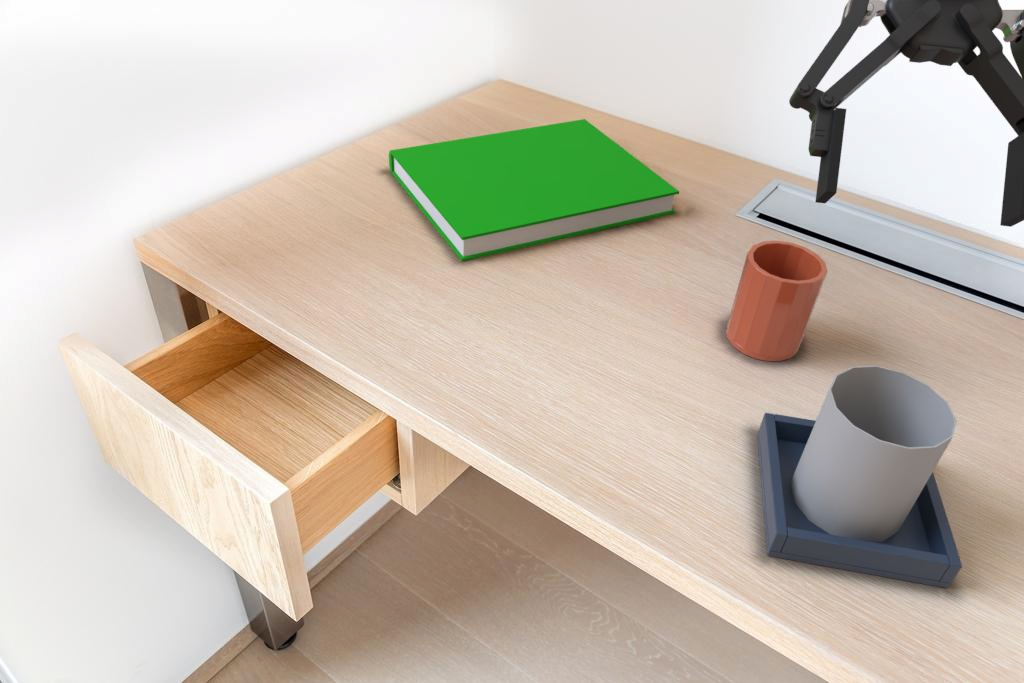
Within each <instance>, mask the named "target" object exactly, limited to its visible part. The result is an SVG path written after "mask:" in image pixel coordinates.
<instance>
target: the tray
mask: <svg viewBox="0 0 1024 683" xmlns="http://www.w3.org/2000/svg"><path fill="white" fill-rule="evenodd" d="M815 422H816V420H815V419H808V418H803V417H802V418H801V417H795V416H789V415H784V414H778V413H770V412H764V415H763V417H762V420H761V423H760V425H759V428H758V430H757V433H756V435H757V446H758V447H757V448H758V459H759V460H758V461H759V472H760V473H759V474H760V483H761V484H760V485H761V496H762V508H763V520H764V532H765V544H766V554H767V557H774V558H778V559H784V560H789V561H795V562H800V563H807V564H811V565H817V566H823V567H828V568H834V569H839V570H844V571H845V570H846V571H851V572H856V573H861V574H867V575H873V576H878V577H883V578H889V579H894V580H901V581H906V582H910V583H911V582H912V583H917V584H921V585H928V586H932V587H933V586H934V587H938V588H944V589H948V588H949V586H950V585H951V583H953V581H954V579H955V578H956V576H958V574H959V572H961V569H962V568H963V563H962V560H961V558H960V554H959V551H958V548H957V545H956V541H955V538H954V535H953V531H952V529H951V526H950V522H949V519H948V516H947V512H946V510H945V507H944V503H943V500H942V496H941V494H940V493H941V492H940V491H939V487H938V483H937V480H936V477H935V474H934V471H933V472H932V474H931V476H930V477H929V479H928V481H927V483H926V484H925V486H924V488H923V490H922V491H921V493H920V495H919V496H918V498H917V500H916V502H915V503H914V505H913V507H912V509H911V510H910V512H909V514H908V516H907V517H906V519H905V521H904V522H903V524H902V526H901V528H900V529H899V531H898V532H897V533H895V534H893V535H892V536H890V537H889V538H887V539H886V540H884V541H883V542H869V541H863V540H857V539H852V538H846V537H840V536H835V535H830V534H829V533H827V532H826V531H824V530H823V529H821V528H820V527H818V526H817V525H815V524H813V523H812V522H810V521H809V520H808V519H807V517H806V516H805V515H804V514H803V512H802V511H801V510H800V509H799V507H798V506H797V505H796V503H795V502H794V499H793V494H792V490H791V485H790V482H791V480H792V478H793V475H794V473H795V470H796V468H797V465H798V463H799V461H800V458H801V456H802V453H803V451H804V449H805V446H806V444H807V441H808V439H809V437H810V434H811V432H812V429H813V427H814V425H815Z"/></svg>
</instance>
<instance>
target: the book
mask: <svg viewBox="0 0 1024 683" xmlns="http://www.w3.org/2000/svg"><path fill="white" fill-rule="evenodd" d="M388 167H389V170H390V173H391V174H392V176H393V177H394V178H395V179H396V181H397V182H398V184H400V186H401V187H402V189H403V190H404V191H405V192H406V193H407V194H408V196H409V197H410V198H411V200H412V201H413V202H414V204H416V206H417V207H418V208H419V210H420V211H421V212H422V214H423V215H424V216H425V218H426V219H427V220H428V221H429V222H430V223H431V225H432V226H433V227H434V228H435V230H436V231H437V233H439V235H440V236H441V237H442V239H443V240H444V241H445V242H446V244H447V245H448V246H449V247H450V249H451V250H452V251H453V252H454V254H455V255H456V256H457V257H458V259H459V260H460V262H465V261H471V260H474V259H479V258H483V257H484V258H485V257H489V256H492V255H497V254H501V253H505V252H509V251H510V252H511V251H515V250H519V249H524V248H527V247H532V246H537V245H540V244H546V243H550V242H555V241H558V240H563V239H568V238H572V237H577V236H581V235H585V234H586V235H587V234H590V233H595V232H599V231H603V230H608V229H611V228H612V229H613V228H617V227H622V226H624V225H629V224H634V223H639V222H644V221H647V220H652V219H658V218H661V217H666V216H671V215H675V213H676V210H675V209H673V203H674V199H675V196H676V195H679V194H680V190H679V189H677V188H676V187H674V186H673V185H672V184H671V183H669V182H668V181H667V180H665V179H664V178H662V177H661V176H660V175H659V174H658V173H656V172H655V171H654V170H652V169H651V168H650V167H648V166H647V165H646V164H644V163H643V162H642V161H640V160H639V159H638V158H637V157H635V156H634V155H633V154H631V153H630V152H629V151H627V150H626V149H625V148H623V147H622V146H621V145H619V144H618V143H617V142H616V141H614V140H613V139H612V138H610V137H609V136H607V135H606V134H605V133H604V132H603V131H601V130H600V129H599V128H597V127H596V126H594V125H593V124H592V123H590V122H589V121H588V119H587V120H586V118H583V119H576V120H570V121H564V122H558V123H551V124H546V125H539V126H533V127H527V128H526V127H525V128H521V129H514V130H507V131H502V132H501V131H500V132H495V133H490V134H483V135H477V136H471V137H465V138H459V139H452V140H446V141H440V142H434V143H426V144H420V145H415V146H409V147H408V146H407V147H402V148H397V149H390V150H389V152H388Z"/></svg>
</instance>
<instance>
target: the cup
mask: <svg viewBox="0 0 1024 683" xmlns="http://www.w3.org/2000/svg"><path fill="white" fill-rule="evenodd" d="M815 421H816V422H815V425H814V427H813V429H812V432H811V434H810V437H809V439H808V441H807V444H806V446H805V449H804V451H803V453H802V456H801V458H800V461H799V463H798V465H797V468H796V470H795V473H794V475H793V478H792V480H791V482H790V485H791V490H792V494H793V499H794V502H795V503H796V505H797V506H798V507H799V509H800V510H801V511H802V512H803V514H804V515H805V516H806V517H807V519H808V520H809V521H810V522H812V523H813V524H815V525H817V526H818V527H820V528H821V529H823V530H824V531H826V532H827V533H829V534H830V535H835V536H840V537H846V538H852V539H857V540H863V541H869V542H883V541H884V540H886V539H887V538H889V537H890V536H892V535H893V534H895V533H897V532H898V531H899V529H900V528H901V526H902V524H903V522H904V521H905V519H906V517H907V516H908V514H909V512H910V510H911V509H912V507H913V505H914V503H915V502H916V500H917V498H918V496H919V495H920V493H921V491H922V490H923V488H924V486H925V484H926V483H927V481H928V479H929V477H930V476H931V474H932V472H933V473H934V471H935V469H936V467H937V465H938V464H939V462H940V460H941V458H942V456H943V455H944V454H945V451H946V450H947V449H948V446H949V444H950V442H951V441H952V439H953V438H954V433H955V430H956V425H957V419H956V416H955V415H954V412H953V410H952V408H951V406H950V404H949V402H948V401H947V400H946V399H945V398H944V397H942V395H940V394H939V393H938V392H937V391H936V390H935V389H934V388H932V386H931V385H929V384H928V383H927V382H924V381H921V380H920V379H918V378H916V377H914V376H912V375H910V374H908V373H906V372H904V371H901V370H896V369H891V368H887V367H884V366H880V365H860V366H859V365H858V366H851V367H849V368H847V369H844V370H843V371H841V372H839V373H837V374H835V376H834V378H833V380H832V382H831V384H830V386H829V389H828V391H827V393H826V395H825V399H824V400H823V402H822V405H821V407H820V410H819V413H818V415H817V417H816V420H815Z"/></svg>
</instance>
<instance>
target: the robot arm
mask: <svg viewBox="0 0 1024 683" xmlns="http://www.w3.org/2000/svg"><path fill="white" fill-rule="evenodd" d="M877 17H880V22H881V23H882V24H883V26H884V28H885V30H886V31H887V33H888V34H889V35H888V36H887V37H886V38H885V39H884V40H883V41H882V42H881V43H880V44H879V45H877V46H876V47H875V48H874V49H872V51H870V52H869V53H868V54H867V55H866V56H865V57H864V58H862V59H861V60H860V61H859V62H858V63H857V64H856V65H855V66H853V67H852V68H851V69H849V71H848V72H846V73H845V74H844V75H843V76H842V77H840V78H839V79H838V80H837V81H836V82H835V83H834V84H832V85H831V86H830V87H829V88H828V89H827V90H825V91H823V90H821V89H819V88H817V87H818V86H819V84H820V83H821V81H822V80H823V79H824V78H825V76H826V74H827V73H828V72H829V70H830V69H831V68H832V66H833V64H834V63H835V62H836V61H837V59H838V58H839V56H840V55H841V53H842V52H843V50H844V49H845V48H846V46H847V45H848V43H849V42H850V41H851V39H852V37H853V36H854V34H855V33H856V31H857V30H858V28H861V27H865V26H867V25H869V24H870V23H871V21H872V20H873V19H874V18H877ZM995 29H997V30H999V31H1001V32H1002V33H1003V37H1002V38H1003V39H1002V40H1003V42H1005V43H1009V47H1010V52H1011V55H1012V58H1013V60H1014V63H1015V65H1016V67H1017V69H1018V71H1017V69H1016V68H1015V67H1014V66H1013V64H1012V62H1010V61H1009V59H1008V57H1006V55H1005V54H1004V51H1003V50H1004V47H1003V44H1002V42H1001V41H1000V39H999V38H998V36H996V34H995V33H994V32H993V31H994V30H995ZM977 48H978V50H979V53H978V55H977V53H976V52H975V49H977ZM900 54H901V55H903V56H904V57H905V58H908V59H909V60H908V61H909V63H916V64H917V63H918V64H920V63H929V62H930V63H934V64H936V65H939V66H948V67H952V66H953V64H956V63H957V64H958V65H959V66H960V68H961V69H962V70H963V72H964V73H965V74H966V75H967V76H972V77H973V78H974V80H975V81H976V82H977V83H978V84H979V86H980V87H981V88H982V90H983V91H984V93H985V94H986V95H987V97H988V98H989V99H990V101H991V102H992V103H993V105H994V106H995V108H997V110H998V111H999V112H1000V114H1001V115H1002V117H1003V118H1004V119H1005V121H1006V122H1007V123H1008V125H1009V126H1010V127H1011V128H1012V129H1013V131H1014V132H1015V133H1016V135H1017V136H1016V137H1014V138H1013V139H1012V140H1010V141H1009V142H1007V152H1006V163H1005V174H1004V183H1003V195H1002V205H1001V216H1000V225H999V226H1002V227H1009V228H1010V227H1014V226H1015V225H1017V224H1019V223H1022V222H1024V9H1003V8H1002V6H1001V4H1000V2H999V0H848V1H847V3H846V4H845V5H844V8H843V13H842V16H841V21H840V24H839V26H838V27H837V29H836V30H835V32H833V34H832V36H831V37H830V39H829V40H828V42H827V43H826V44H825V46H824V47H823V49H822V50H821V52H820V53H819V54H818V56H817V57H816V59H815V60H814V61H813V63H812V64H811V66H810V67H809V69H808V70H807V71H806V72H805V74H804V76H803V77H802V78H801V80H800V81H799V82H798V84H797V86H796V87H795V89H794V90H793V92H792V94H791V96H790V97H789V99H788V100H789V102H788V103H789V105H790V107H792V108H793V109H796V110H797V109H798V110H799V109H802V110H804V111H805V112H808V118H809V120H810V122H811V126H810V134H809V141H808V148H807V150H808V153H809V156H810V157H817V158H820V161H819V170H818V178H817V185H816V194H815V203H818V204H827V203H828V202H829V201H830V200H831V199H832V198H833V197H834V196H835V195H836V194H837V192H838V182H839V175H840V166H841V157H842V151H843V150H842V149H843V141H844V134H845V133H844V131H845V126H846V125H845V124H846V115H847V108H842V107H839V106H840V105H842V104H843V102H845V101H846V100H847V99H848V98H850V96H852V95H853V94H854V93H855V92H856V91H857V90H859V89H860V88H861V87H862V86H863V85H865V83H867V82H868V81H869V80H870V79H871V78H873V76H875V75H876V74H877V73H878V72H880V70H881V69H883V67H886V66H887V65H889V64H890V63H891V62H892V61H893V60H894V59H895V58H896V57H897V56H899V55H900Z"/></svg>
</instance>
